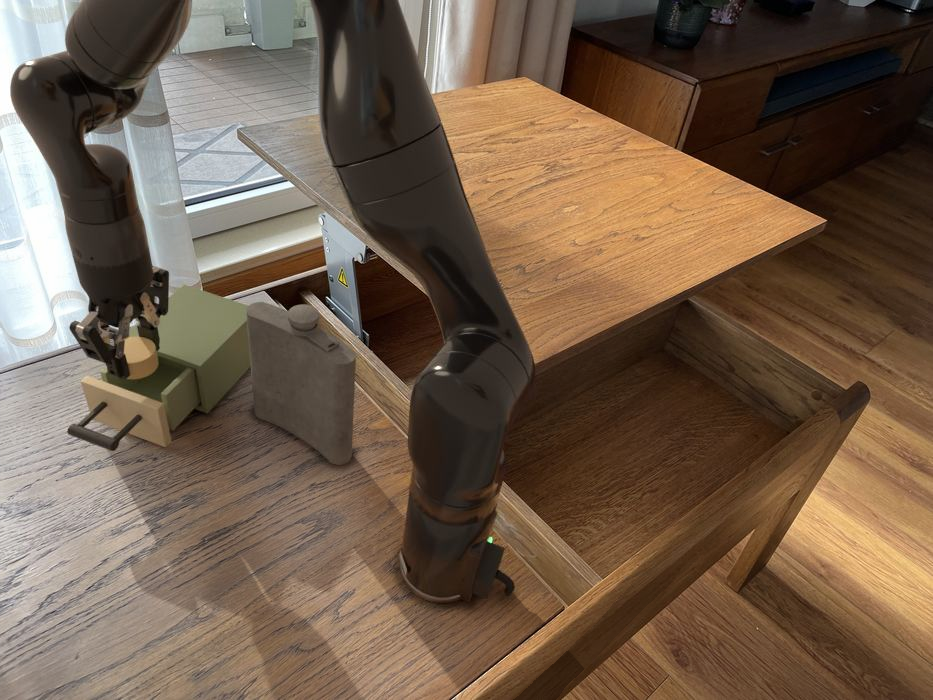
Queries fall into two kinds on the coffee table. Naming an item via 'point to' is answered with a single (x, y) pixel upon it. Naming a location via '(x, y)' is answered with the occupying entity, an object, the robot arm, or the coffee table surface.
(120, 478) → the coffee table surface
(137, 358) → the tan short cylinder
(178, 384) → the drawer
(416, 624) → the coffee table surface
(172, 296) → the cabinet
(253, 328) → the hip flask
